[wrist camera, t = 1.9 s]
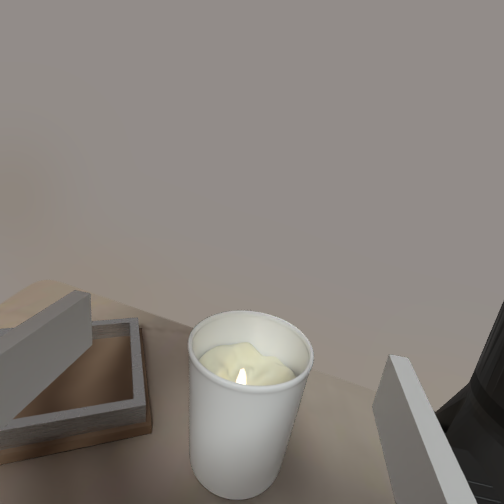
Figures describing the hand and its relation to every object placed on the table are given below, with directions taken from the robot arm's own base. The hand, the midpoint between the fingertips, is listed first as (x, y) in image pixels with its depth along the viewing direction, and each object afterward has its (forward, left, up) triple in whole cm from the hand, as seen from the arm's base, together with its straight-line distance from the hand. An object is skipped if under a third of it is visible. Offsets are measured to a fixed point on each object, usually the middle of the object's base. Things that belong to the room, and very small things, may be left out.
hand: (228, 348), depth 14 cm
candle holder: (-5, -8, -19) cm, 21 cm away
